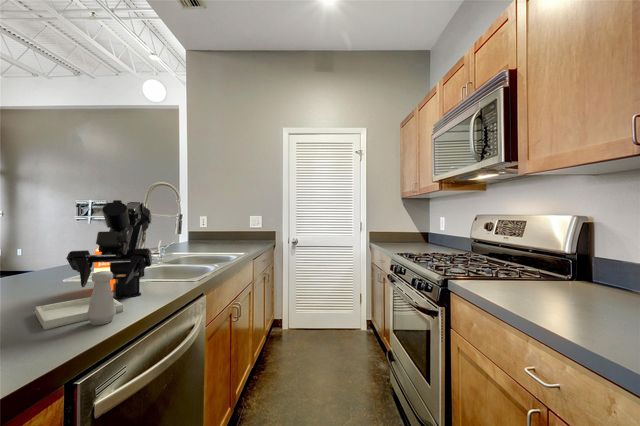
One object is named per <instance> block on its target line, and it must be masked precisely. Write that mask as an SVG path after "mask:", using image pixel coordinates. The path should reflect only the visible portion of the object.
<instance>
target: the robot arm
mask: <svg viewBox="0 0 640 426" xmlns="http://www.w3.org/2000/svg"><path fill="white" fill-rule="evenodd" d="M102 214H103V217H104V222H105V225H106V227H107V228H108V229H109V231H98V232H97V235H96V240H95V244H96V245H97V246H98V247H99V248H98V250H99V252H102V253H101V254H100V255H94V254H90V251H89V250H85V249H84V250H70V251H69V253H68V254H67V256H66V258H65V259H66V261H68V264H69V266H70V267H71V269H72V270H74V271H76V272H77V273H79V278H80V286H81V288H85V287H86V285H87V283H88V280H89V279H90V276H91V273H92V268H93V266H94V265H93V264H94V263H96V262H110V271H111V272H112V273H113V279H115V283H114V284H113V291H112V295H113V297H114V298H117V299H118V300H121V299H127V298H132V297H137V296H141V295H142V292H140V280H141V279H140V278H143V277H145V269H146V268H147V267H148V268H149V267H151V266H152V263H153V257H152V252H151V249H149V248H147V247H145V248H144V247H143V248H140V244H141V240H142V235H143V232H144V231H146V230H148V229H149V227H150V224H152V213H151V210H150V209H148V208H147V207H146V206H145V204H144V203H143V202H141V201H130V202H127V204H125V203H124V202H122V200H121V199H120V200H119V199H118V200H117V199H116V200H115V199H114V200H113V201H112V202H110V203H107V204H105V205H104V206H103V207H102ZM113 279H112V280H113Z"/></svg>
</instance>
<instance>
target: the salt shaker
mask: <svg viewBox="0 0 640 426" xmlns="http://www.w3.org/2000/svg"><path fill="white" fill-rule="evenodd" d="M112 279H113V273H112V272H111V271H100V272H96V273H94V272H93V274H91V281H92V282H93V287H92V288H93V289H92V292H91V293H92V294H91V296H90V297H91V300H90V305H89V309H88V313H87V317H88V321H89V322H90V324H91V325H93V326H101V325H102V326H103V325H107V324H110V323H111V322H112V320H113V318H114V316H115V315H116V314H117V313H116V308H115V304H114V299H115V298H114V296H113V291H112V290H111V285H110V280H112ZM94 282H95V283H94ZM113 298H114V299H113Z"/></svg>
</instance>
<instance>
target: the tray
mask: <svg viewBox="0 0 640 426" xmlns="http://www.w3.org/2000/svg"><path fill="white" fill-rule="evenodd" d="M113 299H114V304H115V308H116V313H115V314H118V313H122V312H124V304H123V303H121V302H120V301H118V300H116V299H115V297H113ZM90 300H91V296H89V297H83V298H77V299H72V300H68V301H67V300H66V301H61V302H57V303H51V304H46V305H45V304H44V305H39V306H35V316H36V318H37V319H38V322H39V323H40V325H41V326H42V328H43V330H48V329H49V330H50V329H53V328H58V327H61V326H66V325H69V324H74V323H78V322H83V321H87V320H88V321H89V319H88V317H87V313H88V309H89V305H90Z"/></svg>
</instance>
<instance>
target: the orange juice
mask: <svg viewBox="0 0 640 426" xmlns="http://www.w3.org/2000/svg"><path fill="white" fill-rule="evenodd" d="M98 248H99V246H98ZM98 248H96V250H95V251H94V252H93V253H94V254H93V255H100V254H101V253H102V252H99V250H98ZM93 264H94V265H93V274H94V273H96V272H100V271H110V262H96V263H93ZM94 283H95V282H93V284H94ZM114 283H115V279H113V280H110V285H111V290H113V284H114Z"/></svg>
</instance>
